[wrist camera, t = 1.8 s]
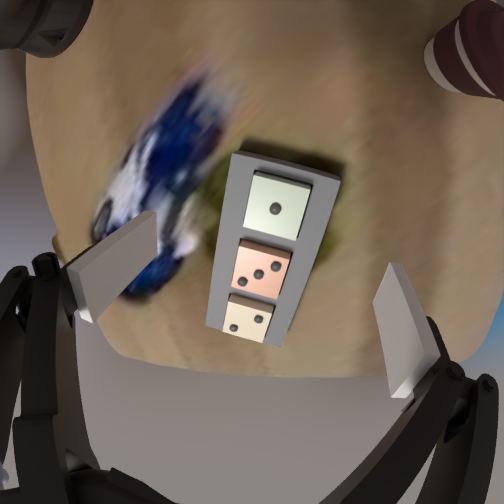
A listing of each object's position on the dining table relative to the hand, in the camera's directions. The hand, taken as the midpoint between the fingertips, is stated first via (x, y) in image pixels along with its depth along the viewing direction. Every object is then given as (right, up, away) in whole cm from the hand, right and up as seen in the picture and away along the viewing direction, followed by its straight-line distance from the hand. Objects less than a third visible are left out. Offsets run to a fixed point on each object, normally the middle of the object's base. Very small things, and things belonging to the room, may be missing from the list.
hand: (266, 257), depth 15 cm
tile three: (+1, -1, +21) cm, 21 cm away
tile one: (+2, +6, +17) cm, 18 cm away
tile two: (-1, -8, +25) cm, 27 cm away
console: (+1, 0, +22) cm, 22 cm away
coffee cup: (+23, +23, +6) cm, 32 cm away
